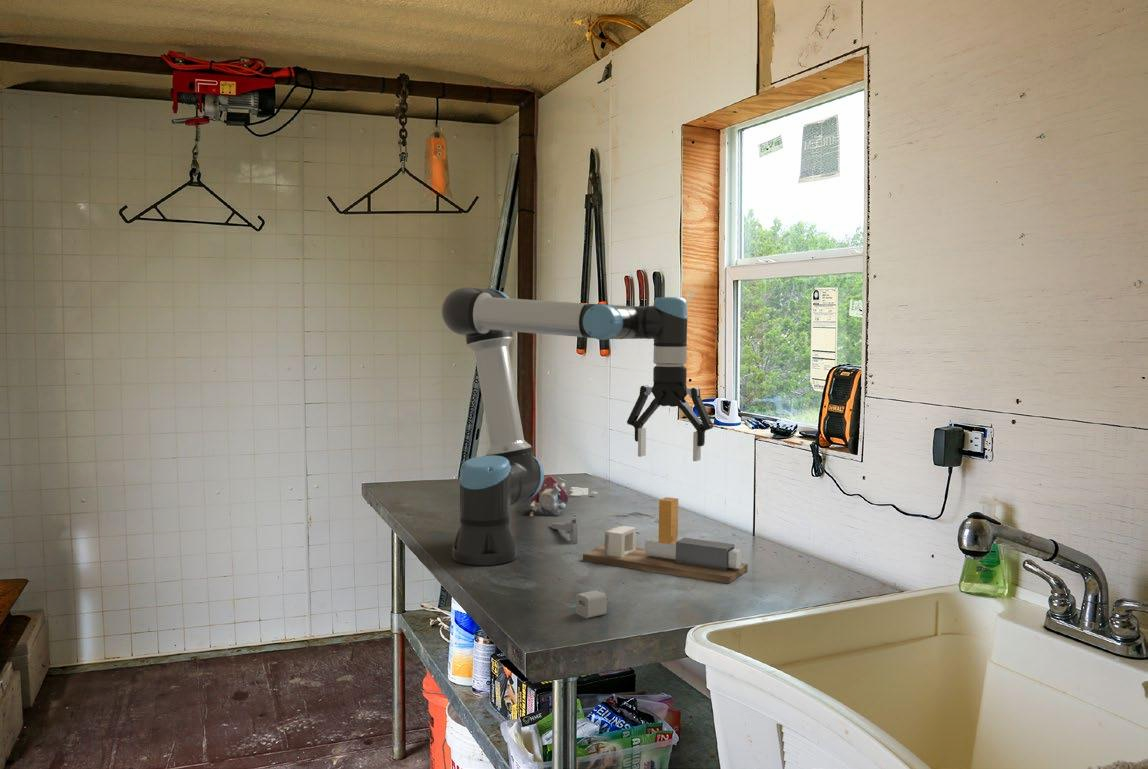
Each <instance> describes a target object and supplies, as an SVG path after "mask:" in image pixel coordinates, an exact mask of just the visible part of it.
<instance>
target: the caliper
mask: <svg viewBox="0 0 1148 769" xmlns="http://www.w3.org/2000/svg"><path fill="white" fill-rule="evenodd" d="M549 527H550V528H552V529H553V530H560V531H564V533H565V534H569V539H570V542H571V543H572V544H578V524H577V519H576V518H570V522H565V523H559V522H558V523H557V522H552V523H551V524H550V525H549Z"/></svg>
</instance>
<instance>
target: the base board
mask: <svg viewBox="0 0 1148 769" xmlns="http://www.w3.org/2000/svg"><path fill="white" fill-rule="evenodd" d="M582 561H583V562H591V563H596V564H603V565H609V566H614V567H615V566H617V567H621V568H627V569H634V570H635V569H636V570H642V571H648V572H653V571H654V572H655V573H659V572H660V573H661V574H666V573H667V575H672V574H673V575H672V576H678V575H679V577H685V578H686V577H687V578H693V579H698V580H705V581H710V582H711V581H712V582H717V583H724V584H731V583H732V582H733V581H735V580H736V579H738V578H739V577H740V576H742V575H743V574H745V573H746V572H748V571H749V570H748V567H749V566H748V563H742V562H741V566H739V567H738V568H731V569H729V570H728V571H719V570H713V569H706V568H699V567H693V566H686V565H680V564H676V559H670V558H663V557H656V556H649V555H645V548H640V547H636V550H635V551H633V552H631V553H629V554H627V555H625V556H623V557H616V556H610V555H605V543H604V544H602V545H600V546H598V547H596V548H593V549H592V550H591V549H590V550H588V551H587V552H585V553H583V554H582ZM660 573H659V574H660Z"/></svg>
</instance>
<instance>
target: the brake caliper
mask: <svg viewBox="0 0 1148 769" xmlns="http://www.w3.org/2000/svg"><path fill="white" fill-rule="evenodd" d="M565 490H566V489H564V487H563V486H561V484H560V483H559V482H558V481H557V480H556V479H555V478H554V477H553V476H552V475H548V476H546V477H545V478H544V481H543V484H542V487H541V489H540V490H539V492H538V493H537V494H536V495H535V496H533V497H532V498H530V501H531V502H530V505H529V509H531V510H532V511H531V512H530V514H529V516H530V517H534V515H537V516H541V515H542V516H562V513H563V512H564V510H565V509H566V507H567V506H568V501H569V494H568V492H567V491H565Z"/></svg>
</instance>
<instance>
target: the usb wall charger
mask: <svg viewBox="0 0 1148 769" xmlns="http://www.w3.org/2000/svg"><path fill="white" fill-rule="evenodd" d="M612 604H615V599H609V597H608V596H607V594H606V593H603V592H601V591H599V590H597V589H595V590H592V591H591V590H590V591H585V592H580V593H577V594H576V595H575V612H576V614H577V615H578V616H581V617H582V618H585V619H591V618H594V617H599V616H604V615H606V614H607V612H608V611H607V609H608V608H607V606H608V605H612Z"/></svg>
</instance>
